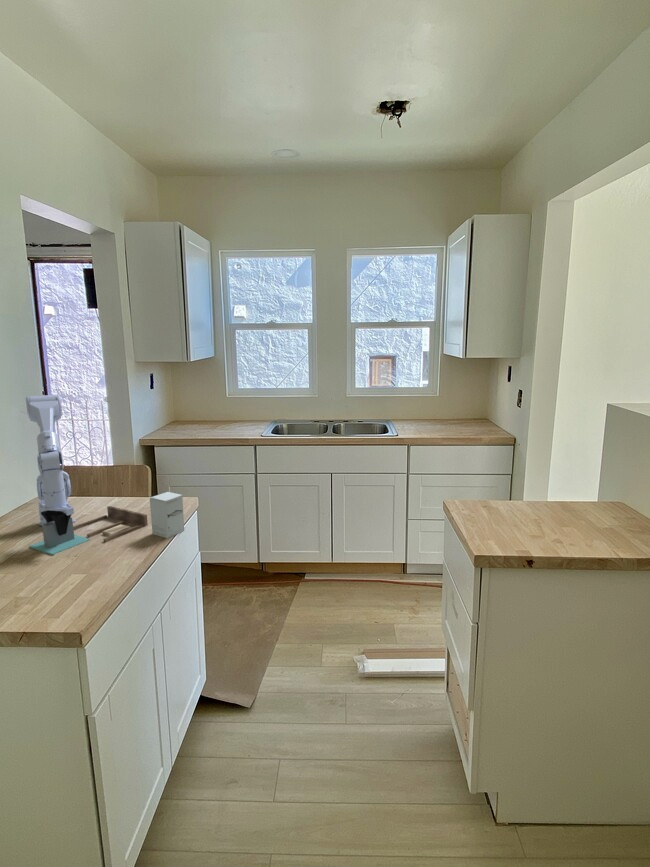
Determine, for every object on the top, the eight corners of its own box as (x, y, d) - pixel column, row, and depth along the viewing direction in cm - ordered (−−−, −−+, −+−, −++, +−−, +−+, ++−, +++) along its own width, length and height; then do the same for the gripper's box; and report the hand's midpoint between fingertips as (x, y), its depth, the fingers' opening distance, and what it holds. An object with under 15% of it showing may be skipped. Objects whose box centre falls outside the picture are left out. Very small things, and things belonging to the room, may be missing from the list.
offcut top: (102, 534, 154) (102, 531, 154) (120, 527, 160) (120, 524, 160) (112, 536, 152) (111, 533, 152) (130, 529, 158) (129, 526, 158)
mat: (29, 547, 145) (29, 545, 145) (67, 533, 156) (66, 532, 156) (53, 555, 140) (52, 553, 140) (90, 540, 150) (90, 539, 150)
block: (44, 546, 145) (41, 524, 143) (69, 537, 151) (67, 516, 150) (49, 548, 143) (46, 526, 142) (74, 538, 150) (72, 517, 149)
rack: (68, 532, 157) (66, 520, 156) (110, 516, 171) (109, 505, 170) (105, 543, 148) (104, 531, 147) (147, 526, 162) (146, 514, 161)
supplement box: (167, 539, 150) (164, 500, 148) (151, 534, 154) (148, 497, 152) (185, 531, 157) (183, 494, 154) (170, 527, 160) (167, 490, 158)
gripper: (26, 490, 145) (32, 533, 147) (55, 497, 138) (60, 542, 140) (49, 484, 151) (54, 525, 153) (78, 491, 144) (83, 534, 146)
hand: (59, 533), depth 147 cm, fingers open, 3 cm apart
